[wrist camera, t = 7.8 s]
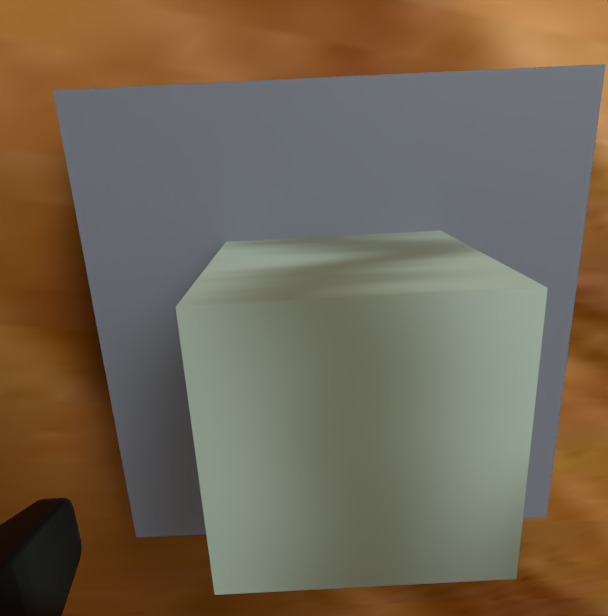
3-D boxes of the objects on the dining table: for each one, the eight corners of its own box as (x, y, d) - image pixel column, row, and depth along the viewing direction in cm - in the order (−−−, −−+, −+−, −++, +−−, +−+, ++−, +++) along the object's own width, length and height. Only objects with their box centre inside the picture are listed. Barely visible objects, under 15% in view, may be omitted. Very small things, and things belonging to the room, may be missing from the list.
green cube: (441, 230, 14) (547, 288, 8) (434, 420, 15) (516, 579, 10) (225, 241, 14) (175, 306, 8) (244, 430, 15) (214, 594, 10)
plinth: (532, 85, 16) (605, 64, 12) (499, 449, 20) (546, 517, 17) (109, 104, 16) (52, 90, 12) (165, 465, 20) (136, 537, 17)
